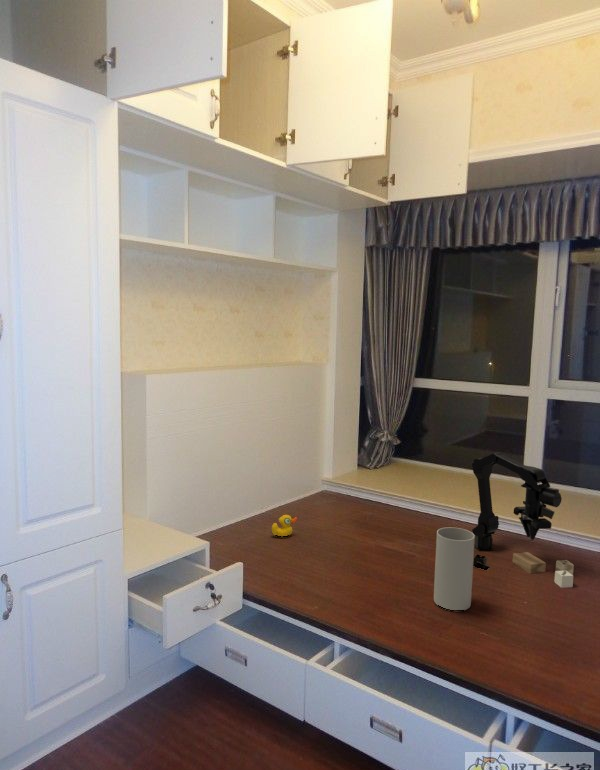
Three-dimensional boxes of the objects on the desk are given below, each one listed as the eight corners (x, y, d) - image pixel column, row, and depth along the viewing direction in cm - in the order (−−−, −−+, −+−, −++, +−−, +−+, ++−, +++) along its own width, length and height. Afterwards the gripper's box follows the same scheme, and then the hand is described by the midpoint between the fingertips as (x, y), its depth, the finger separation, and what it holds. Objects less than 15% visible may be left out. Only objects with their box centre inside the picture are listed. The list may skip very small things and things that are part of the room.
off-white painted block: (561, 587, 212) (562, 575, 212) (554, 582, 217) (555, 570, 216) (572, 587, 213) (573, 575, 212) (565, 581, 217) (566, 570, 217)
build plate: (498, 569, 228) (499, 558, 228) (490, 575, 223) (491, 564, 222) (468, 560, 236) (469, 549, 236) (461, 565, 231) (461, 554, 230)
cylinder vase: (464, 616, 190) (468, 543, 187) (428, 605, 196) (431, 535, 194) (474, 600, 200) (478, 532, 198) (440, 591, 207) (443, 524, 204)
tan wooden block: (530, 574, 224) (530, 564, 223) (512, 562, 234) (513, 553, 234) (545, 572, 226) (545, 562, 225) (526, 561, 236) (527, 552, 236)
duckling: (295, 533, 260) (295, 512, 259) (297, 538, 255) (298, 516, 254) (270, 535, 258) (270, 513, 257) (272, 539, 253) (272, 517, 252)
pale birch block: (562, 576, 222) (562, 565, 221) (555, 571, 226) (556, 560, 226) (572, 576, 223) (573, 564, 222) (566, 571, 227) (566, 559, 226)
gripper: (565, 507, 219) (562, 546, 220) (539, 492, 237) (536, 529, 239) (538, 508, 217) (535, 547, 219) (514, 493, 236) (511, 529, 237)
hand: (530, 538), depth 229 cm, fingers open, 3 cm apart
